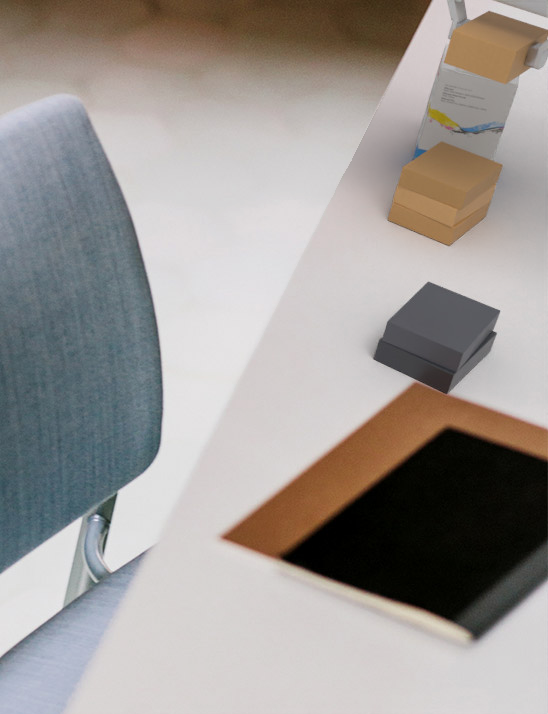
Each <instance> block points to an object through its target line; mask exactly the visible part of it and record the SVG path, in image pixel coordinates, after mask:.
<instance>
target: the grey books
mask: <svg viewBox="0 0 548 714" xmlns="http://www.w3.org/2000/svg"><path fill="white" fill-rule="evenodd" d="M500 314H501V310H500V309H498V308H495V307H493V306H490V305H489V304H486V303H483V302H481V301H478V300H475V299H473V298H470V297H468V296H465V295H462V293H461V294H460V293H458V292H456V291H454V290H451V289H448V288H446V287H443V286H441V285H438V284H435V283H434V282H431V281H427V282H426V283H425V284H424V285H423V286H422V287H420V289H419V290H418V291H417V292H416V293H415V294H414V295H412V297H410V298H409V300H407V302H405V303H404V304H403V305H402V306H401V308H400V309H398V310H397V311H396V312H395V313H394V314H393V315H392V316H391V317H390V318H389V319H388V320H387V321H386V324H385V328H384V331H383V335H382V337H381V338H379V339H378V342H377V346H376V348H375V352H374V355H373V360H375V361H377V362H379V363H381V364H383V365H385V366H388V367H390V368H392V369H394V370H396V371H398V372H400V373H402V374H405V375H406V376H408V377H411V378H413V379H415V380H416V381H417V380H418V381H419V382H421V383H424V384H425V385H427V386H430V387H431V388H434V389H435V390H438V391H440V392H442V393H444V394H446V395H447V394H449V393H450V391H452V390H453V389H454V388H455V386H457V385H458V384H459V383H460V382H461V381H462V380H463V379H464V378H465V377H466V376H467V375H468V374H469V373H470V372H471V371H472V370H473V369H474V368H475V367H476V366H477V365H478V364H479V363H480V362H481V361H482V360H483V359H484V358H485V357H487V355H488V354H489V353H490V352H491V350H492V348H493V346H494V343H495V340H496V338H497V334H498V332H497V331H494V330H495V327H496V325H497V322H498V319H499V317H500Z"/></svg>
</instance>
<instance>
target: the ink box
mask: <svg viewBox="0 0 548 714" xmlns="http://www.w3.org/2000/svg"><path fill="white" fill-rule="evenodd" d="M448 46H449V43H446V44H445V45H444V48H443V51H442V55H441V58H440V60H439V64H438V67H437V70H436V74H435V77H434V80H433V84H432V87H431V89H430V94H429V96H428V100H427V103H426V107H425V109H424V110H425V111H424V114H423V117H422V121H421V124H420V128H419V132H418V134H417V138H416V143H415V147H414V154H413V158H412V159H413V160H414V159H416V158H417V157H419V156H420V155H422V154H423V153H425V152H426V151H428V150H429V149H431V148H432V147H434V146H435V145H437V144H438V143H440V142H441V141H442V142H444V143H447V144H450V145H452V146H455V147H458V148H460V149H463V150H466V151H468V152H471V153H474V154H476V155H479V156H481V157H484V158H487V159H489V160H492V161H494V159H495V156H496V153H497V150H498V147H499V144H500V141H501V138H502V135H503V132H504V129H505V126H506V123H507V120H508V117H509V115H510V111H511V108H512V106H513V103H514V99H515V97H516V94H517V92H518V88H519V82H520V75H519V76H518V77H516V78H515V79H513V80H511V81H510V82H508V83H507V84H503V83H500V82H497V81H494V80H492V79H489V78H486V77H483V76H480V75H477V74H474V73H472V72H469V71H466V70H463V69H460V68H457V67H454V66H451V65H449V64H446V63H444V60H445V56H446V53H447V50H448Z"/></svg>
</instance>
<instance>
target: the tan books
mask: <svg viewBox="0 0 548 714" xmlns="http://www.w3.org/2000/svg"><path fill="white" fill-rule="evenodd" d="M413 159H414V158H413ZM503 167H504V164H502V163H500V162H498V161H494V160H493V161H492V160H489V159H487V158H484V157H481V156H479V155H476V154H474V153H471V152H468V151H466V150H463V149H460V148H458V147H455V146H452V145H450V144H447V143H444V142H442V141H441V142H440V143H438V144H437V145H435V146H434V147H432V148H431V149H429V150H428V151H426V152H425V153H423V154H422V155H420V156H419V157H417V158H416V159H414V160H411V161H410V162H407V164H405V165H403V166H402V168H401V172H400V175H399V178H398V182H397V185H396V187H395V191H394V195H393V199H392V204H391V208H390V211H389V214H388V217H387V221H389V222H390V223H394V224H396V225H398V226H400V227H402V228H405V229H408V230H410V231H412V232H415V233H418V234H420V235H422V236H424V237H427V238H429V239H432V240H434V241H437V242H439V243H442V244H444V245H446V246H449V247H450V246H451V245H452V244H453V243H455V242H456V241H457V240H459V239H460V238H461V237H463V235H465V234H466V233H468V232H469V231H470V230H471V229H472V228H474V227H475V226H476V225H478V223H480V222H481V221H483V219H485V218H486V217H487V214H488V210H489V208H490V205H491V202H492V199H493V197H494V194H495V191H496V188H497V184H498V181H499V179H500V176H501V173H502V170H503Z"/></svg>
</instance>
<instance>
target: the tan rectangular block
mask: <svg viewBox="0 0 548 714" xmlns="http://www.w3.org/2000/svg"><path fill="white" fill-rule="evenodd" d="M470 20H471V21H469V22H467V23H465V24H464V25H462V26H460V27H458V28H456V29H454V30H453V33H452V36H451V40H450V39H449V43H448V44H449V46H448V50H447V53H446V56H445V60H444V63H446V64H449V65H451V66H454V67H457V68H460V69H463V70H466V71H469V72H472V73H474V74H477V75H480V76H483V77H486V78H489V79H492V80H494V81H497V82H500V83H503V84H507V83H508V82H510V81H511V80H513V79H515V78H516V77H518V76H519V77H520V76H521V75H522V74H524V73H525V72H527V71H528V70H530V69H531V67H529V66H526V65H524V61H525V58H526V57H527V52H528V49H529V46H531V45H533V44H534V43H536V42H539V43H542V44H543V43H544V42H545V41H546V40H547V39H548V28H543V27H541V26H537V25H534V24H531V23H528V22H525V21H522V20H519V19H516V18H512V17H509V16H507V15H503V14H501V13H497V12H494V11H492V10H488V11H486V12H484V13H483V14H480V15H479V16H476V17H475V18H473V19H470Z"/></svg>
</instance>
